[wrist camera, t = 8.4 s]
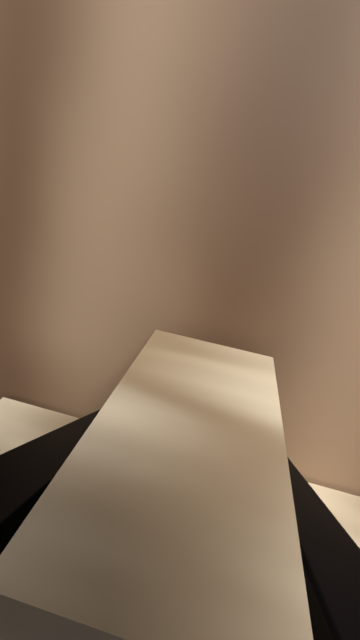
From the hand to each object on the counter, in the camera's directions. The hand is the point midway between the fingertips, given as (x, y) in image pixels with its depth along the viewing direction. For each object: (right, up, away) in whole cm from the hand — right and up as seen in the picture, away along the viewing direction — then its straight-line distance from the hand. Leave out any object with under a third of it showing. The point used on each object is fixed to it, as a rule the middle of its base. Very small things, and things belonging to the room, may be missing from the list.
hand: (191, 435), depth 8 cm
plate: (+1, +4, +3) cm, 5 cm away
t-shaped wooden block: (0, 0, +1) cm, 1 cm away
